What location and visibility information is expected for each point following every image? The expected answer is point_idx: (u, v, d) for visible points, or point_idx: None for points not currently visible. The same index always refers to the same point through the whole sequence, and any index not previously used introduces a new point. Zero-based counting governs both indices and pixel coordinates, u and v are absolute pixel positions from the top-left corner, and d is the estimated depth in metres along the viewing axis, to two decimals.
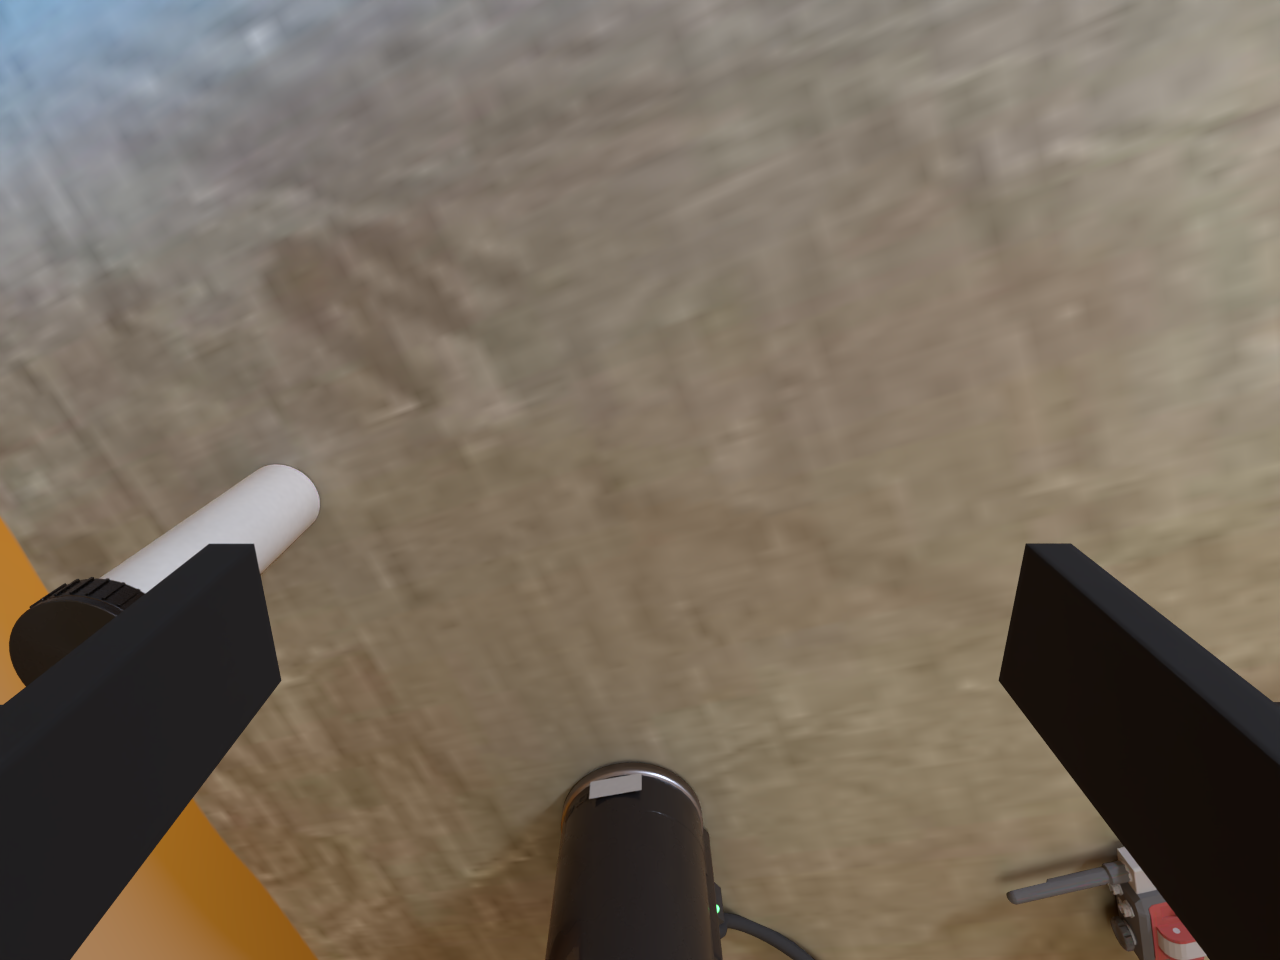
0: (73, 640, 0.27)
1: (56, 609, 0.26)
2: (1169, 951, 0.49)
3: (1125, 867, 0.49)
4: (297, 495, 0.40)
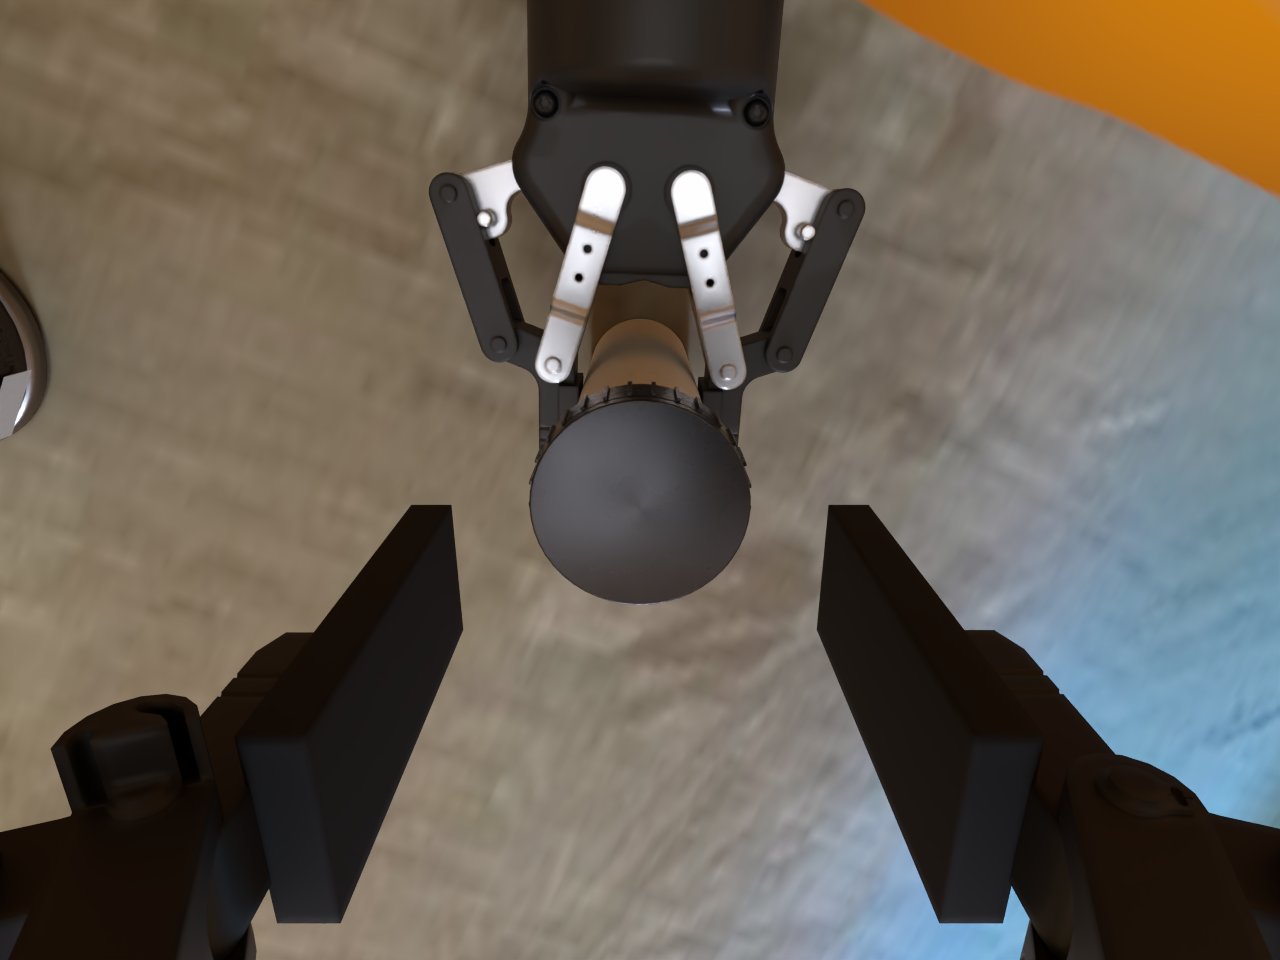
0: (672, 530, 0.18)
1: (718, 556, 0.18)
2: None
3: None
4: None
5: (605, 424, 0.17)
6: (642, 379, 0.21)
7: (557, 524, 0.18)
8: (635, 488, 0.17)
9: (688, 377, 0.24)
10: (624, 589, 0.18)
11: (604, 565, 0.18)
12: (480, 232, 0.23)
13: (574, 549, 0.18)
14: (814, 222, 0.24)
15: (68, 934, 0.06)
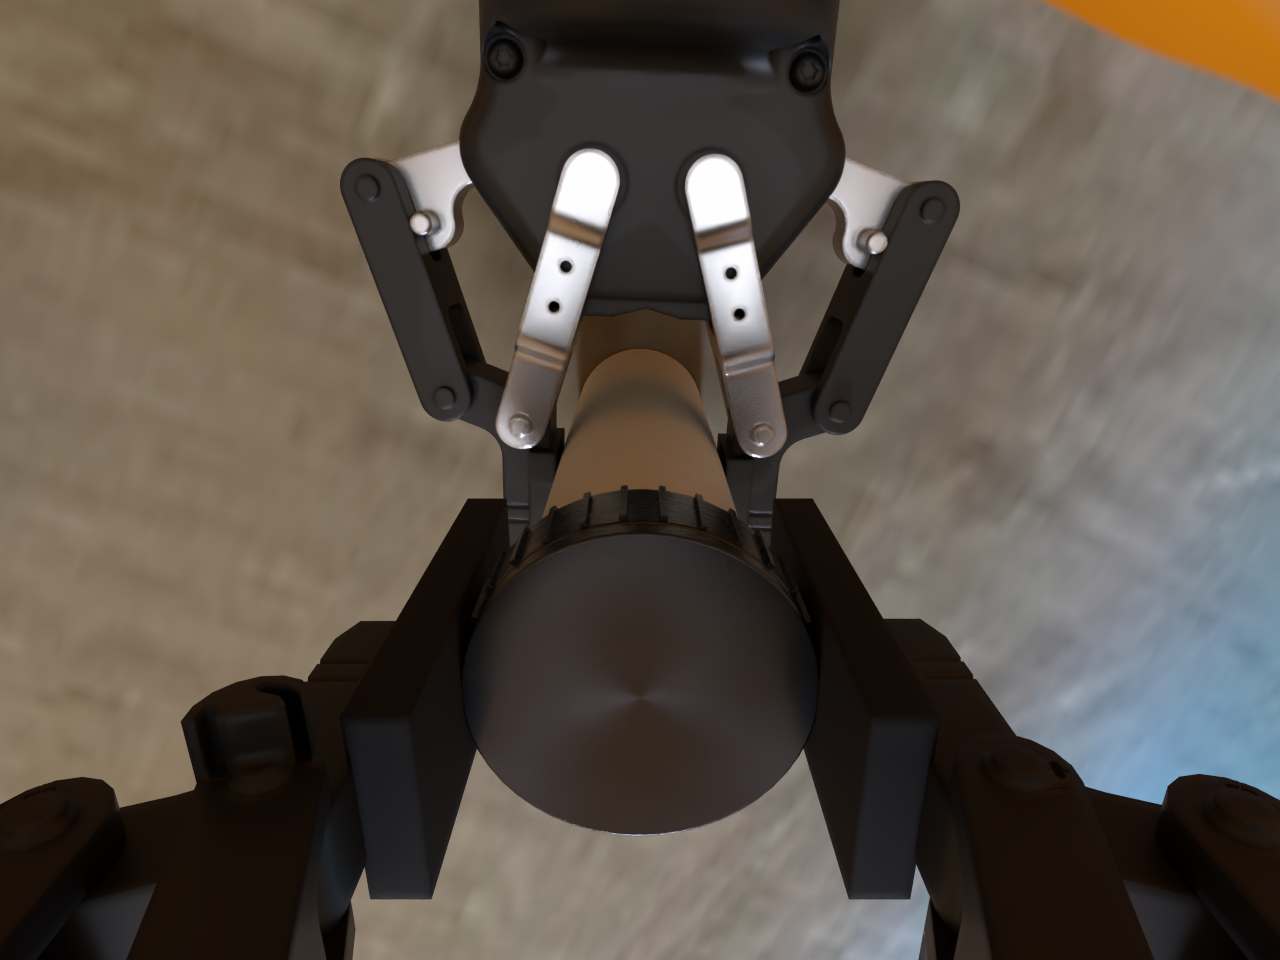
0: (691, 731, 0.11)
1: (765, 767, 0.11)
2: None
3: None
4: None
5: (582, 571, 0.10)
6: (643, 462, 0.14)
7: (506, 722, 0.11)
8: (632, 668, 0.10)
9: (707, 443, 0.17)
10: (615, 814, 0.11)
11: (583, 780, 0.11)
12: (415, 244, 0.16)
13: (534, 757, 0.11)
14: (884, 228, 0.17)
15: (195, 900, 0.06)
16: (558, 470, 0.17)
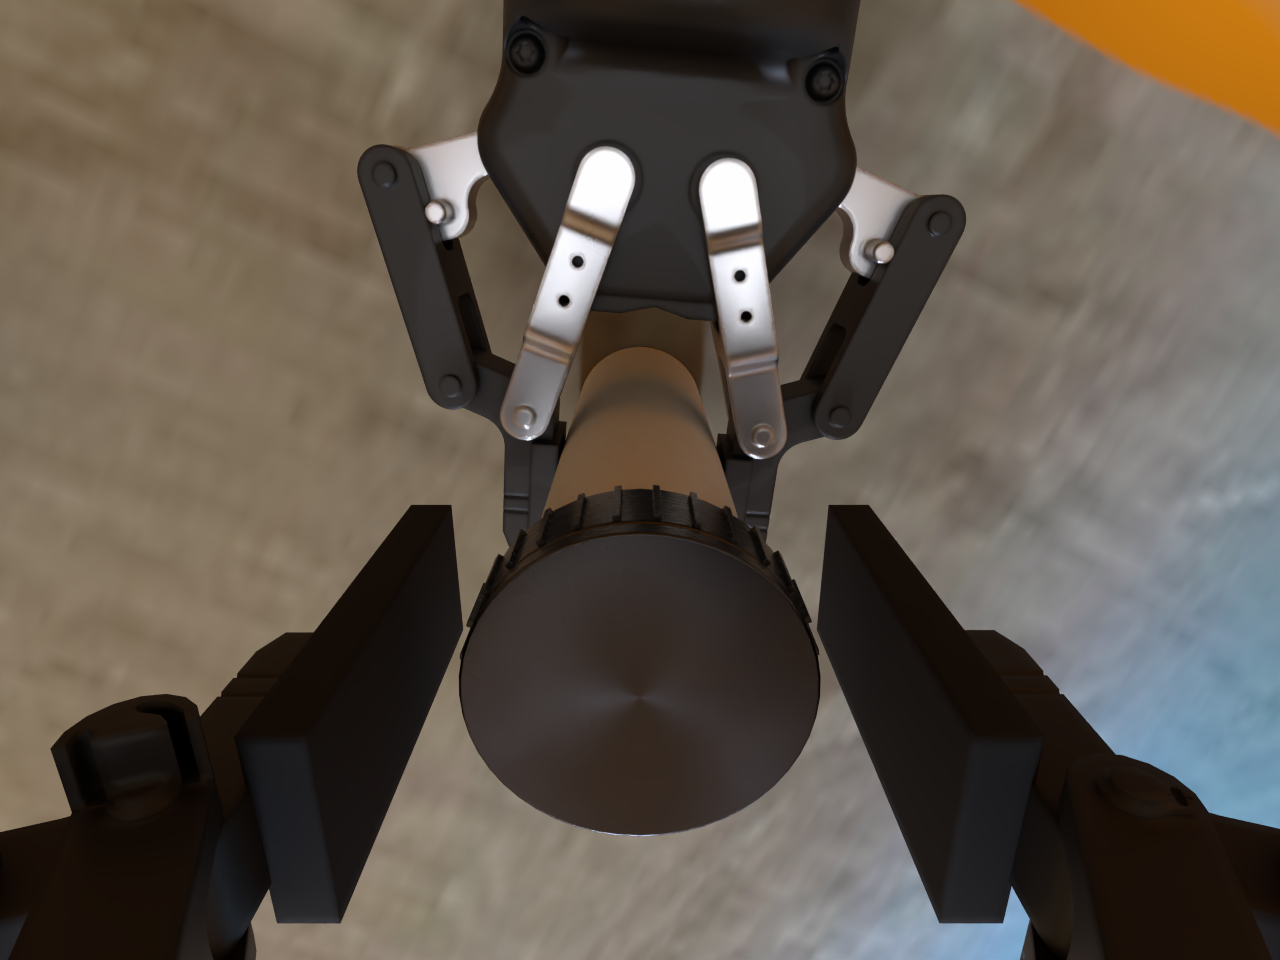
0: (692, 662, 0.10)
1: (761, 604, 0.10)
2: None
3: None
4: None
5: (489, 714, 0.11)
6: (648, 457, 0.14)
7: (636, 807, 0.11)
8: (604, 697, 0.11)
9: (708, 442, 0.18)
10: (775, 748, 0.11)
11: (723, 765, 0.11)
12: (429, 232, 0.16)
13: (683, 796, 0.11)
14: (891, 239, 0.17)
15: (68, 934, 0.06)
16: (561, 462, 0.17)
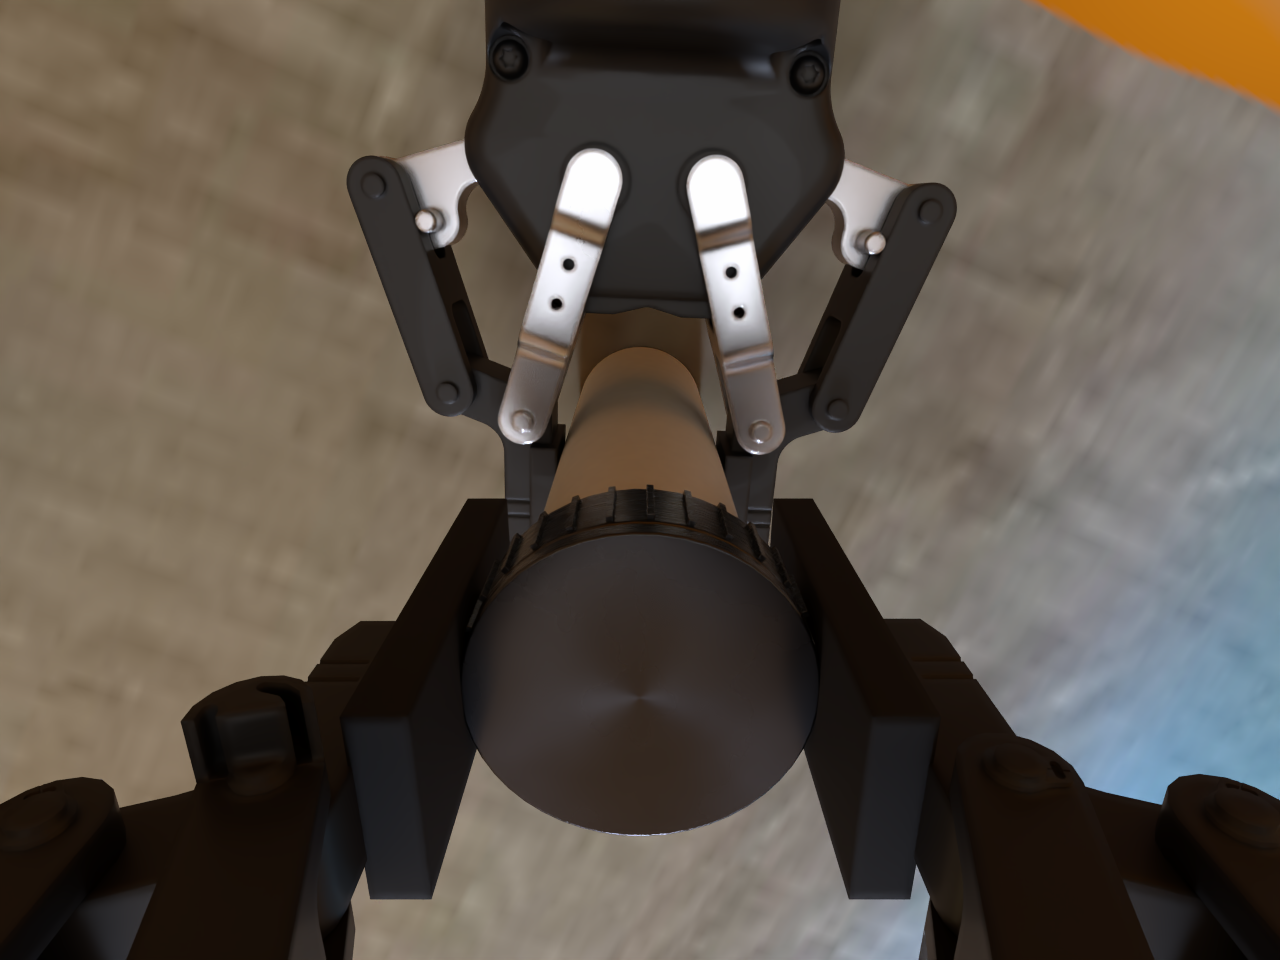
0: (691, 660, 0.10)
1: (757, 600, 0.10)
2: None
3: None
4: None
5: (491, 718, 0.11)
6: (644, 457, 0.14)
7: (641, 806, 0.11)
8: (605, 698, 0.11)
9: (706, 439, 0.18)
10: (777, 743, 0.11)
11: (726, 762, 0.11)
12: (420, 240, 0.17)
13: (688, 794, 0.11)
14: (882, 229, 0.17)
15: (195, 902, 0.06)
16: (559, 465, 0.17)
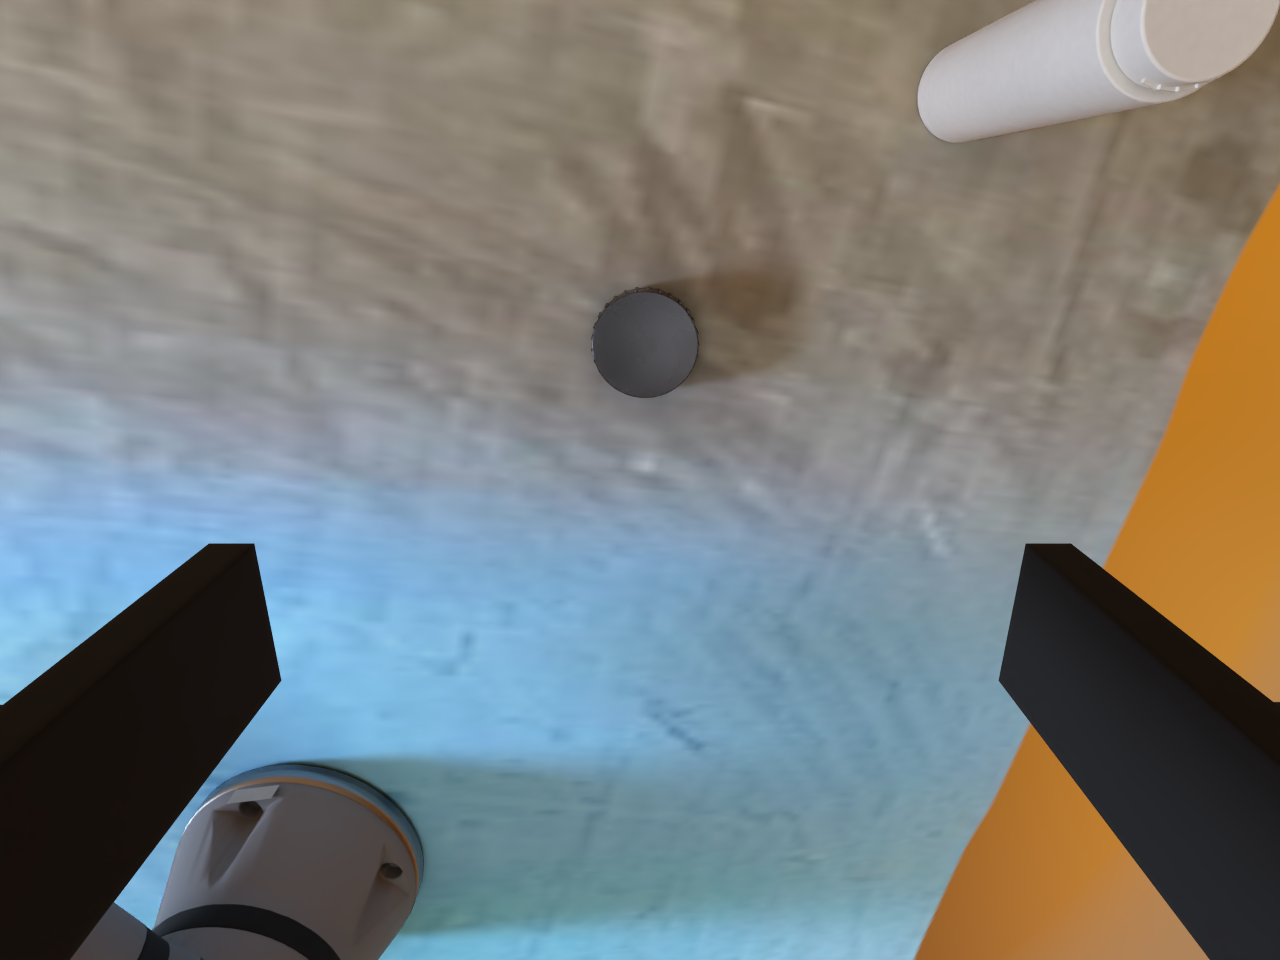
0: (660, 333, 0.36)
1: (678, 313, 0.36)
2: None
3: None
4: (934, 82, 0.32)
5: (601, 353, 0.36)
6: None
7: (645, 386, 0.37)
8: (634, 346, 0.36)
9: None
10: (686, 362, 0.37)
11: (671, 369, 0.37)
12: None
13: (659, 381, 0.37)
14: None
15: None
16: None
